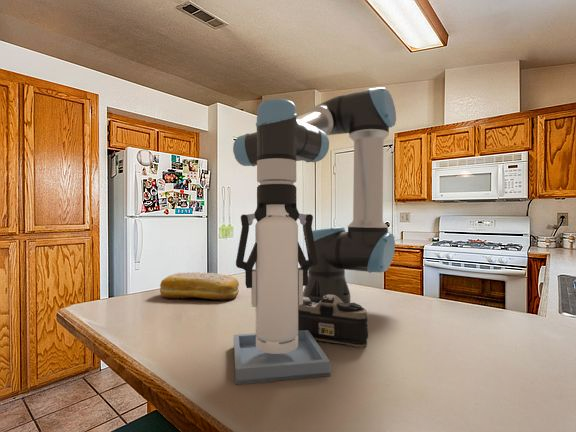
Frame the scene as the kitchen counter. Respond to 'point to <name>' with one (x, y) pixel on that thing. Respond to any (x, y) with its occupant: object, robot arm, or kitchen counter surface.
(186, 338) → the kitchen counter surface
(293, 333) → the bottle
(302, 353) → the tray
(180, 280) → the bread
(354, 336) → the camera
